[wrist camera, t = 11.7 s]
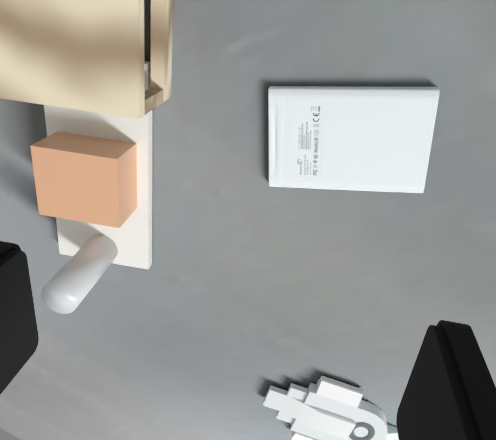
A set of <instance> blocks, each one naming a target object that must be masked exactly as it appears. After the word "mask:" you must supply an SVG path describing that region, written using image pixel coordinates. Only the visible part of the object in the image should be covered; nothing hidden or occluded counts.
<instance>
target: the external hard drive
mask: <svg viewBox="0 0 496 440" xmlns="http://www.w3.org/2000/svg"><path fill="white" fill-rule="evenodd" d="M439 93H440V90H439V89H438V87H349V86H343V87H340V86H270V87H269V89H268V115H269V186H272V187H293V188H313V189H337V190H359V191H381V192H407V193H423V191H424V187H425V180H426V174H427V168H428V162H429V155H430V149H431V143H432V137H433V131H434V124H435V119H436V113H437V106H438V99H439Z"/></svg>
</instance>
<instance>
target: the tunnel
mask: <svg viewBox="0 0 496 440" xmlns="http://www.w3.org/2000/svg"><path fill="white" fill-rule="evenodd" d="M172 28H173V0H151V88H149V89H147V90H145V87H144V0H0V98H1V99H8V100H14V101H21V102H28V103H35V104H42V105H48V106H55V107H62V108H69V109H76V110H82V111H89V112H96V113H103V114H110V115H116V116H123V117H130V118H137V119H140V118H141V117H143V116H144V115H146V114H147V113H149V112H150V111H151V110H153V109H154V108H156V107H157V106H159V105H160V104H161V103H163V102H164V101H166V100H167V99H169V98H170V97H171V73H172Z"/></svg>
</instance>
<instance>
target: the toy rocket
mask: <svg viewBox="0 0 496 440" xmlns="http://www.w3.org/2000/svg"><path fill="white" fill-rule="evenodd" d="M362 392H363V389H360V388H357V387H354V386H351V385H348V384H346V383H343V382H340V381H337V380H334V379H331V378H328V377H325V376H321V377H320V379H319V380H318V382H317V384H313V383H310V385H309V387H308V389H307V388H304V387H301V386H298V385H295V384H293V383H291V385H290V387H289V389H288V391H286V390H283V389H280V388H277V387H274V386H271V385H270V388H269V390H268V392H267V394H266V397H265V399H264V402H263V406H266V407H269V408H272V409H275V410H278V412H277V415H276V419H279V420H282V421H285V422H288V423H291V430H292V438H291V439H292V440H399V438H398V431H397V427H395V426H392V425H389V424H387V422H386V417H385V415H384V413H383V411H382V410H380V409H379V408H378V407H377V406H376V405H373V404H371V403H369V402H366V401H364V400H361V398H362V396H363V393H362Z"/></svg>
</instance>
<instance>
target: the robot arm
mask: <svg viewBox="0 0 496 440" xmlns="http://www.w3.org/2000/svg"><path fill="white" fill-rule="evenodd" d="M37 345H38V331H37V324H36V317H35V310H34V304H33V297H32V290H31V283H30V276H29V270H28V263H27V257H26V254H25V253H24V252H23V251H21V249H20V247H19V246H18V245H17V244H13V243H8V242H2V241H0V394H1V393H2V392H3V390H4V389H5V388H6V387H7V385H8V384H9V383H10V382H11V380H12V379H13V378H14V377H15V376H16V374H17V373H18V372H19V371H20V369H21V368H22V367H23V366H24V364H25V363H26V362H27V361H28V359H29V358H30V357H31V356H32V355H33V353H34V352H35V350H36V348H37ZM397 431H398V438H399V440H496V387H495V385H494V382H493V380H492V378H491V375H490V373H489V370H488V368H487V365H486V363H485V360H484V358H483V355H482V353H481V351H480V348H479V346H478V343H477V341H476V338H475V336H474V333H473V331H472V329H471V327H470V326H469V325H466V324H461V323H455V322H450V321H444V320H441V321H439V323H438V324H437V326H434V325H430V326H429V327H428V329H427V332H426V335H425V337H424V340H423V343H422V346H421V348H420V351H419V354H418V356H417V359H416V362H415V365H414V367H413V370H412V373H411V376H410V378H409V381H408V384H407V387H406V389H405V392H404V395H403V397H402V400H401V403H400V406H399V408H398V412H397Z"/></svg>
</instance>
